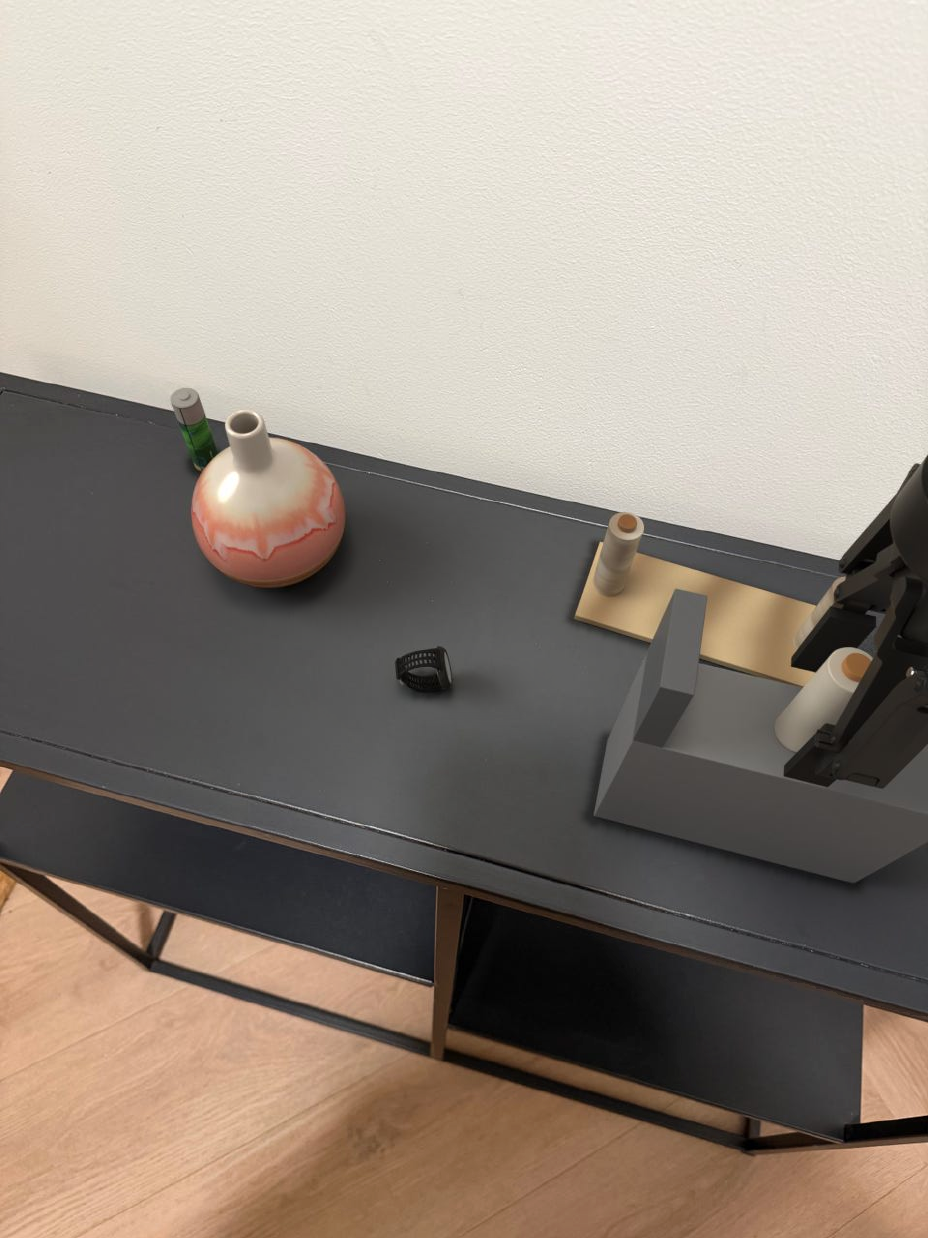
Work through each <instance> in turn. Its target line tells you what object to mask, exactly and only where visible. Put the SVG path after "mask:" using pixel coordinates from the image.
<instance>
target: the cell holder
mask: <svg viewBox="0 0 928 1238" xmlns="http://www.w3.org/2000/svg"><path fill="white" fill-rule="evenodd" d="M644 531H645V524H644V522H643V520H642V519H641V517H639V516H638V515H637V514H634V513H632V512H629V511H621V512H617V513H615V514H614V515H612V516H611V517H610V519H609V523H608V525H607V529H606V532H605V536H604V540H603V541H599V543H598V547H597V549H596V552H595V556H594V559H593V561H592V564H591V566H590V570H589V574H588V576H587V579H586V582H585V584H584V588H583V591H582V594H581V597H580V600H579V603H578V606H577V609H576V611H575V615H574V618H573V619H574V620H576V621H579V622H583V623H585V624H589V625H592V626H595V627H598V628H601V629H605V630H607V631H611V632H614V633H616V634H617V633H618V634H620V635H623V636H627V637H631V638H632V639H636V640H639V641H643V642H646V643H649V644H651V642H652V640H653V637H654V635H655V633H656V631H657V628H658V626H659V624H660V622H661V619H662V617H663V615H664V613H665V610H666V608H667V606H668V604H669V602H670V599H671V597H672V595H673V593H674V590H675V589H680V590H685V591H689V592H694V593H698V594H702V595H707V604H706V611H705V619H704V627H703V634H702V642H701V650H700V657H699V660H704V661H706V662H710V663H713V664H716V665H718V666H719V665H720V666H722V667H726V668H729V669H732V670H736V671H737V672H740V673H744V674H747V675H751V676H756V677H760V678H764V679H768V680H773V681H777V682H781V683H785V684H790V685H794V686H798V687H802V688H803V687H804V686H805V685H806V684H807V683H808V681H809V680H810V679H811V678H812V677H813V675H814V674H815V672H811V671H807V670H802V669H798V668H794V667H791V657H792V656H793V654H794V653H795V652H796V650H797V649H798V648H799V647H800V645H801V644H802V643H803V641H804V640H805V639H806V637H807V636H808V635H809V633H810V632H811V631H812V630H813V628H814V627H815V626H816V624H817V623H818V622H819V620H820V619H821V618H822V617H823V615H824V614H825V613H826V611H827V610H828V609H829V607H830V606H832V605H833V603H834V591H835V589H836V587H837V585H839V584H840V583H841V582H843V581H845V578H846V576H840V577H838V578H837V579H835V580H834V582H833V583H832V584H831V586H830V587H829V588H828V589H827V591H826V592H825V594H824V595H823V596H822V598H821V599H820V600H819V602H818V603H817V604H816V605H815V604H811V603H808V602H805V601H801V600H798V599H795V598H792V597H788V596H785V595H781V594H778V593H774V592H771V591H768V590H764V589H761V588H758V587H755V586H751V585H747V584H744V583H741V582H737V581H734V580H730V579H728V578H724V577H720V576H719V575H718V576H717V575H714V574H711V573H708V572H704V571H700V570H697V569H693V568H690V567H688V566H685V565H681V564H677V563H674V562H670V561H667V560H665V559H660V558H657V557H654V556H650V555H647V554H643V553H640V552H637V551H638V548H639V545H640V544H641V543H640V542H641V540H642V537H643V535H644Z"/></svg>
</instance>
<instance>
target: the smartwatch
mask: <svg viewBox="0 0 928 1238" xmlns="http://www.w3.org/2000/svg"><path fill="white" fill-rule="evenodd" d="M394 666H395V667H394V668H395V678H396V680H397V681H398V682H399V684H401V686H404V685H405V686H406V687H407V688H408V689H410V690H412V691H414V692H418V693H430V692H436V691H439V690H445V691H448V690H450V689H451V687H452V685H453V671H452V666H451V660H450V657H449V654H448V651H447V649H446V648H444V647H443V646H439V645H438V646H436V647H434V648H433V647H432V648H426V649H418V650H415V651H410V652H408V653H406V654H404V655H402V656H401V657H397V658H396V659H395V662H394ZM419 668H432V669H434V670H436V673H434V674H428V675H419V674H415V673H412V672H410V671H413V670H415V669H419ZM429 686H430V687H429Z"/></svg>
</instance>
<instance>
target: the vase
mask: <svg viewBox="0 0 928 1238" xmlns="http://www.w3.org/2000/svg"><path fill="white" fill-rule="evenodd" d="M224 428H225V432H226V436H227V439H228V440H227V441H228V444H229V446H228V447H226V448H224V449H223V450H221V451H220V452H218V454H217V455H216V456H215V457H214V458H213V459H212V460H211V461H210V462H209V464H208V465H207V466H206V467H205V469H204V470H203V471H202V472H200V475H199V477H198V479H197V481H196V483H195V486H194V490H193V493H192V497H191V504H190V505H191V506H190V515H191V525H192V529H193V534H194V536H195V540H196V542H197V545H198V547H199V548H200V550H201V552H202V554H203V555H204V556H205V558H206V559H207V560H208V561H209V563H210V564H211V565H212V566H213V567H214V568H215V569H216V570H218V571H219V572H220V573H221V574H223V575H224V576H226V577H227V578H229V579H231V580H233V581H235V582H238V583H240V584H243V585H246V586H250V587H255V588H265V589H272V588H273V589H274V588H283V587H289V586H291V585H295V584H297V583H300V582H302V581H304V580H306V579H309V578H311V576H313V575H315V574H316V573H318V572H319V571H320V570H321V569H322V568H323V567H325V566H326V565H327V564H328V562H329V561H330V560H331V559H332V558H333V557H334V555H335V553H336V552H337V551H338V548H339V547H340V544H341V542H342V539H343V536H344V532H345V527H346V519H347V518H346V517H347V516H346V504H345V500H344V496H343V495H344V494H343V492H342V490H341V488H340V485H339V483H338V480H337V478H336V477H335V475H334V474H333V471H331V469H330V468H329V466H327V464H326V463H325V462H324V461H323V460H322V459H321V458H320V457H319V456H318V455H316V454H315V453H313V452H312V451H311V450H309V449H308V448H306V447H304V446H302V445H301V444H298V443H296V442H293V441H291V440H287V439H284V438H280V437H270V436H269V433H268V430H267V426H266V423H265V420H264V418H263V416H262V415H261V414H260V412H258V411H256V410H252V409H239V410H236V411H234V412H232V413H231V414H230V415H229V416H228V417H227V418H226V420H225V423H224Z"/></svg>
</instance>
